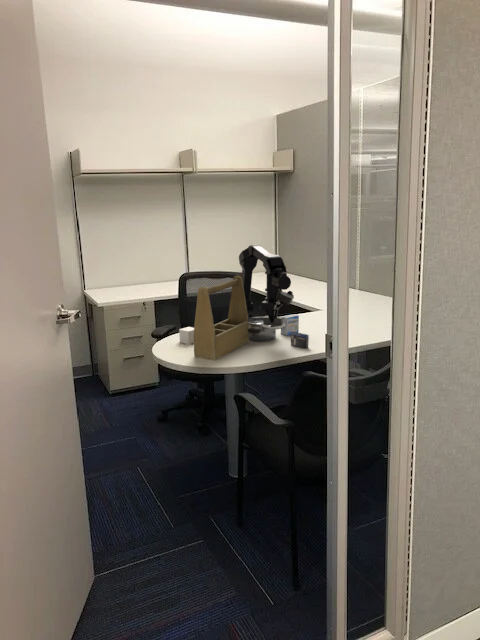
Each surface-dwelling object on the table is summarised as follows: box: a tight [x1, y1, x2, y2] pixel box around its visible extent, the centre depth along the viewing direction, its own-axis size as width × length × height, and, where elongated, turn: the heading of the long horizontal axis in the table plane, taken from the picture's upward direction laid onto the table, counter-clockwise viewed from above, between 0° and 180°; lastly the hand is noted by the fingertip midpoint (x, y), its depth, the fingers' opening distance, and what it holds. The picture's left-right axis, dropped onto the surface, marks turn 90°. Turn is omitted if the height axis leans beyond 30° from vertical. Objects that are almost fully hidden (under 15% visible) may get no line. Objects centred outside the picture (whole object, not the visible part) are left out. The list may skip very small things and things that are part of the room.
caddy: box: [193, 275, 249, 361], centre depth 217 cm, size 29×11×30 cm, turn 151°
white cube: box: [178, 326, 194, 345], centre depth 232 cm, size 6×6×6 cm
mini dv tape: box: [290, 332, 310, 350], centre depth 222 cm, size 8×2×6 cm, turn 48°
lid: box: [261, 315, 285, 330], centre depth 219 cm, size 10×10×4 cm
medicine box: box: [280, 314, 300, 336], centre depth 242 cm, size 8×4×9 cm, turn 129°
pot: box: [248, 316, 277, 343], centre depth 236 cm, size 14×19×8 cm
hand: (273, 321), depth 219 cm, fingers closed on lid, 3 cm apart
